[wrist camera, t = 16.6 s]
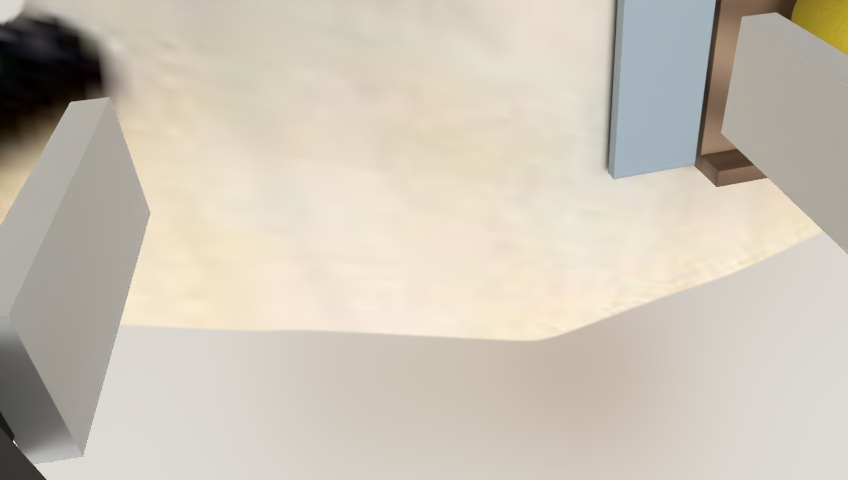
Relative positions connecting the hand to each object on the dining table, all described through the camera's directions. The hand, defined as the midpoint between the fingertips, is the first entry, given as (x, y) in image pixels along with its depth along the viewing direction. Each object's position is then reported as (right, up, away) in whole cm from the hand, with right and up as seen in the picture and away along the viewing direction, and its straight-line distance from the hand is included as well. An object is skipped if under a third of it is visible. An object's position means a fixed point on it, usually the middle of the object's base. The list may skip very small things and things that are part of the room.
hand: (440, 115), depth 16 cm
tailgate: (+18, +11, +31) cm, 37 cm away
